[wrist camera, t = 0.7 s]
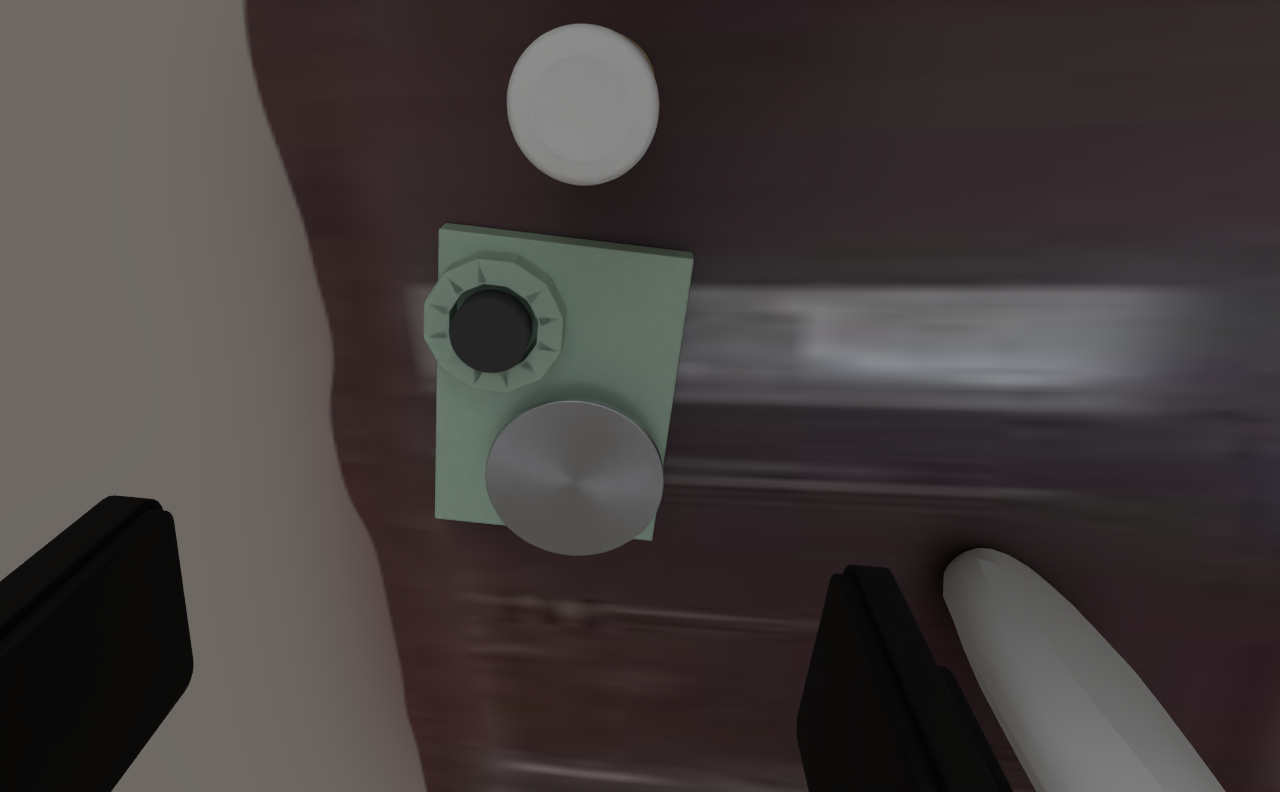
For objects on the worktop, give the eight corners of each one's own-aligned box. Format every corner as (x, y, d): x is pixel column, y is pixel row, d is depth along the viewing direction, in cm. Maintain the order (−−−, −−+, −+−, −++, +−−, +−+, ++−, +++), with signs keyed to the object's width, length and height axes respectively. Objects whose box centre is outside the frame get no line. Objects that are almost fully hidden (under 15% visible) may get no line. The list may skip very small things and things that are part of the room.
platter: (490, 386, 38) (488, 390, 38) (675, 407, 39) (675, 411, 38) (483, 541, 42) (482, 546, 41) (652, 558, 42) (652, 564, 42)
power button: (457, 284, 36) (449, 294, 35) (535, 293, 37) (530, 304, 35) (455, 356, 38) (447, 369, 37) (530, 365, 38) (525, 377, 37)
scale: (440, 221, 38) (424, 235, 35) (692, 251, 38) (695, 267, 36) (436, 504, 44) (422, 534, 42) (651, 527, 45) (652, 558, 42)
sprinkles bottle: (676, 93, 35) (691, 121, 23) (598, 159, 37) (574, 219, 24) (610, 5, 34) (589, -15, 22) (532, 77, 35) (471, 96, 23)
